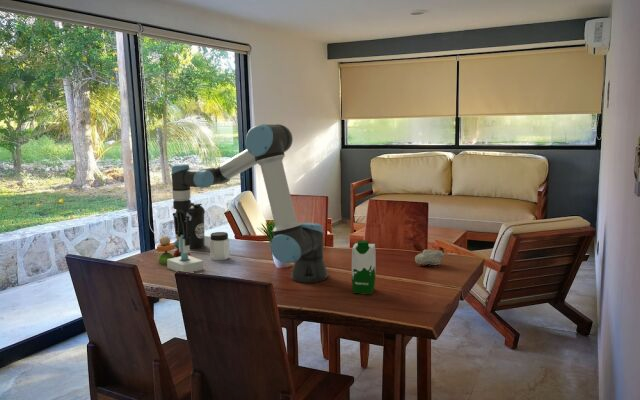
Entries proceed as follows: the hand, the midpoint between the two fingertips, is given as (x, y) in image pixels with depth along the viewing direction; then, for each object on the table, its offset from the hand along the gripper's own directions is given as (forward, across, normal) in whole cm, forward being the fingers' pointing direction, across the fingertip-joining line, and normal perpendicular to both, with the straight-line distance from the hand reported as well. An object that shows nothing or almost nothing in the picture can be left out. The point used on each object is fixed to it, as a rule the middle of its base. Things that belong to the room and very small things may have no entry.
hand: (184, 251), depth 230 cm
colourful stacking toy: (+8, +16, -7) cm, 19 cm away
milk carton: (+8, -78, -31) cm, 84 cm away
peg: (+4, 0, 0) cm, 4 cm away
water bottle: (+8, +32, -25) cm, 41 cm away
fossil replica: (+8, -76, -78) cm, 109 cm away
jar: (+8, +4, -21) cm, 23 cm away
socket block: (+8, 0, 0) cm, 8 cm away
